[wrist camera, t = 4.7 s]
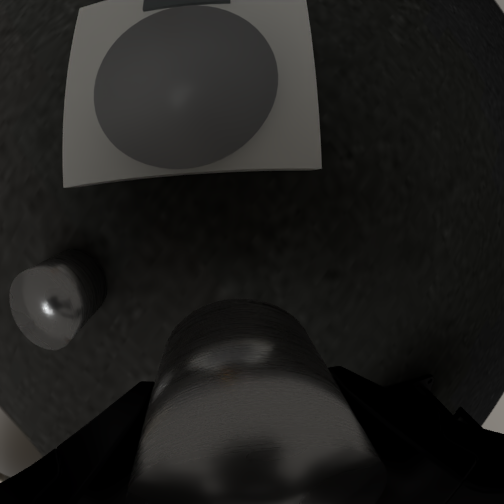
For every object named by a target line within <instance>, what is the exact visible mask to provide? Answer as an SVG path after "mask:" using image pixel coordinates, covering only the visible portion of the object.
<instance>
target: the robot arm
mask: <svg viewBox="0 0 504 504" xmlns="http://www.w3.org/2000/svg"><path fill="white" fill-rule="evenodd" d="M328 370H329V371H330V373H331V375H332V376H333V378H334V380H335V382H336V383H337V385H338V387H339V388H340V390H341V392H342V394H343V395H344V397H345V399H346V400H347V402H348V404H349V406H350V407H351V409H352V411H353V412H354V414H355V416H356V418H357V419H358V421H359V423H360V424H361V426H362V428H363V430H364V431H365V433H366V435H367V436H368V438H369V440H370V442H371V443H372V445H373V447H374V449H375V450H376V452H377V454H378V455H379V457H380V459H381V461H382V462H383V464H384V466H385V468H386V470H387V475H388V480H387V485H386V487H385V489H384V492H383V493H382V495H381V496H380V498H379V499H378V500H377V502H376V503H375V504H504V434H502V433H498V432H494V431H490V430H486V429H483V428H482V427H481V426H480V425H479V424H478V423H477V422H476V421H475V420H474V419H473V418H472V417H471V416H470V415H469V414H468V413H467V412H466V411H465V410H464V409H463V408H462V407H461V406H460V407H459V408H458V410H457V411H456V413H455V414H454V415H452V414H451V413H450V412H449V411H448V410H447V408H446V407H445V406H444V405H443V404H442V403H441V402H440V401H439V400H438V399H437V398H436V397H435V396H434V395H433V394H432V393H431V392H430V391H431V388H432V385H433V382H434V377H433V376H432V375H427V376H424V377H421V378H418V379H415V380H411V381H408V382H405V383H402V384H398V385H395V386H391V387H388V388H384V387H382V386H380V385H378V384H376V383H374V382H372V381H370V380H368V379H366V378H364V377H362V376H360V375H358V374H356V373H354V372H352V371H350V370H348V369H346V368H344V367H341V366H335V367H330V368H328ZM154 383H155V382H146V381H142V382H139V383H138V384H137V385H136V386H134V387H133V388H132V389H131V390H129V391H128V392H127V393H126V394H124V395H123V396H122V397H121V398H119V399H118V400H117V401H116V402H114V403H113V404H112V405H111V406H109V407H108V408H107V409H105V410H104V411H103V412H102V413H100V414H99V415H98V416H97V417H95V418H94V419H93V420H91V421H90V422H89V423H88V424H86V425H85V426H84V427H82V428H81V429H80V430H79V431H77V432H76V433H75V434H73V435H72V436H71V437H69V438H68V439H67V440H65V441H64V442H63V443H62V444H60V445H59V446H58V447H57V449H53V450H52V451H51V452H49V453H48V454H47V455H45V456H44V457H43V458H41V459H40V460H38V461H37V462H35V463H34V464H32V465H31V466H30V467H28V468H26V469H24V470H23V471H21V472H19V473H18V474H16V475H14V476H12V477H11V478H9V479H7V480H5V481H3V482H1V483H0V504H126V495H127V491H128V486H129V482H130V477H131V473H132V468H133V464H134V460H135V455H136V451H137V447H138V443H139V439H140V435H141V431H142V427H143V424H144V420H145V416H146V412H147V408H148V405H149V401H150V397H151V394H152V390H153V387H154Z"/></svg>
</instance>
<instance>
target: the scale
mask: <svg viewBox="0 0 504 504" xmlns="http://www.w3.org/2000/svg"><path fill="white" fill-rule="evenodd" d="M317 169H322V161H321V140H320V123H319V108H318V96H317V84H316V74H315V64H314V55H313V46H312V38H311V30H310V23H309V16H308V9H307V3H306V0H106V1H103V2H99V3H96V4H92V5H89V6H86V7H82V8H80V10H79V14H78V18H77V22H76V27H75V32H74V37H73V42H72V47H71V53H70V60H69V66H68V74H67V82H66V92H65V103H64V119H63V187H64V188H72V187H84V186H90V185H97V184H104V183H112V182H120V181H128V180H137V179H146V178H156V177H167V176H178V175H191V174H206V173H223V172H246V171H296V170H306V171H311V170H317Z"/></svg>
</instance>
